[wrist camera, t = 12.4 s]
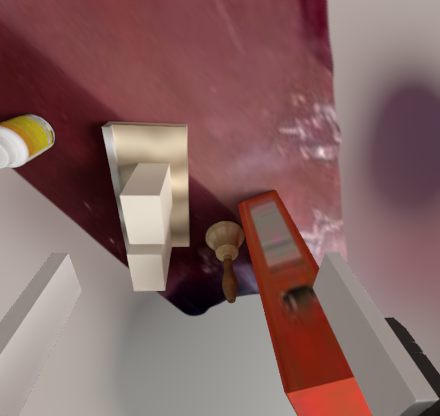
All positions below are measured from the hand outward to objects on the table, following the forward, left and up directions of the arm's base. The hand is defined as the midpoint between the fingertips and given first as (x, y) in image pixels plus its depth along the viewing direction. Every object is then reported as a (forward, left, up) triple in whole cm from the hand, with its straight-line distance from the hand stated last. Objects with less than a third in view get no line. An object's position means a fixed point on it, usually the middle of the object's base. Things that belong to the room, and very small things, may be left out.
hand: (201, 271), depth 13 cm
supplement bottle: (+2, -26, -32) cm, 41 cm away
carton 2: (+20, -8, -30) cm, 37 cm away
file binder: (+21, +14, -32) cm, 41 cm away
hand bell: (+23, +5, -32) cm, 40 cm away
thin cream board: (+12, -8, -32) cm, 35 cm away
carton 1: (+10, -8, -30) cm, 32 cm away
